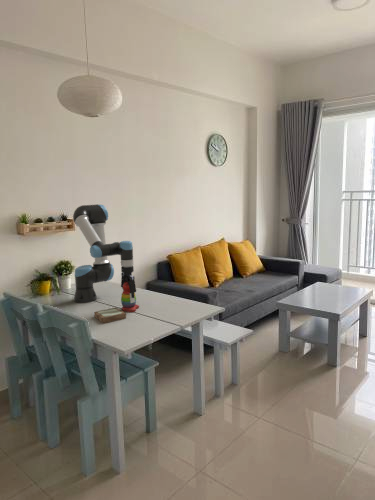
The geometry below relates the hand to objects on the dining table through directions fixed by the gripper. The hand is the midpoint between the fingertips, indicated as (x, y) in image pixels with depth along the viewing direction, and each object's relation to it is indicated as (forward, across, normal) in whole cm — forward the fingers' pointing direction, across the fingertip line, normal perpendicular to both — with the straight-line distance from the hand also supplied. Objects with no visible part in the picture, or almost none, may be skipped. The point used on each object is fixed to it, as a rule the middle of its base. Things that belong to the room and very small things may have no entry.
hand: (129, 300), depth 242 cm
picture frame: (+6, +7, -16) cm, 18 cm away
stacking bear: (+6, 0, 0) cm, 6 cm away
